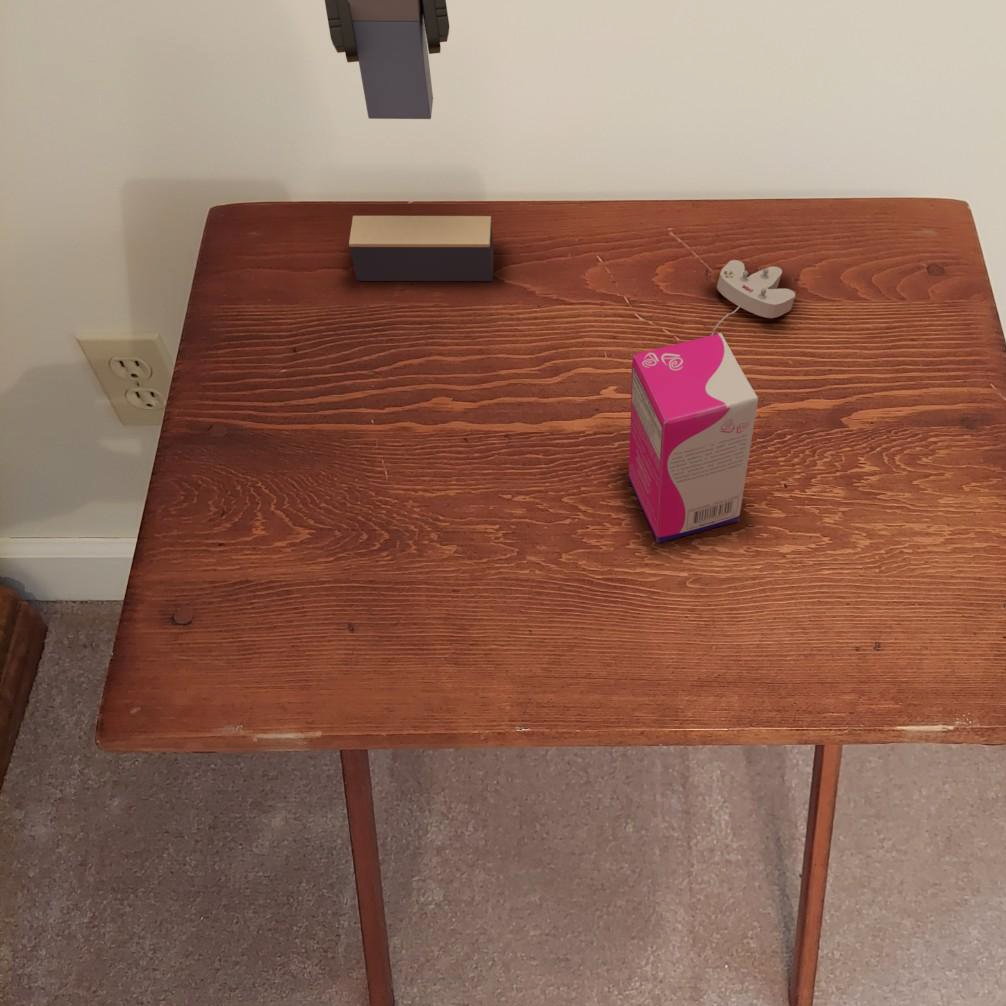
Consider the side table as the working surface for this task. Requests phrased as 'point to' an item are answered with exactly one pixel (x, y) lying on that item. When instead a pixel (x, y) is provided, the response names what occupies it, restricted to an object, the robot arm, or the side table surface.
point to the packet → (393, 58)
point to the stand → (422, 248)
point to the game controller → (754, 290)
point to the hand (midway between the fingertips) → (393, 53)
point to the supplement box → (690, 436)
